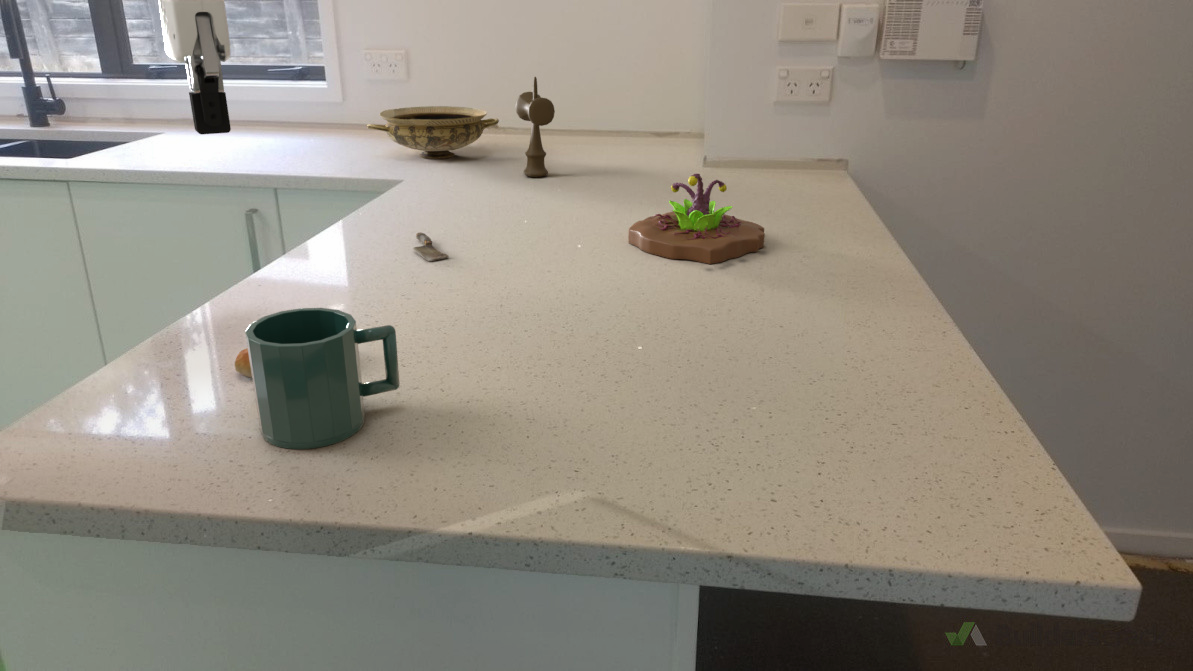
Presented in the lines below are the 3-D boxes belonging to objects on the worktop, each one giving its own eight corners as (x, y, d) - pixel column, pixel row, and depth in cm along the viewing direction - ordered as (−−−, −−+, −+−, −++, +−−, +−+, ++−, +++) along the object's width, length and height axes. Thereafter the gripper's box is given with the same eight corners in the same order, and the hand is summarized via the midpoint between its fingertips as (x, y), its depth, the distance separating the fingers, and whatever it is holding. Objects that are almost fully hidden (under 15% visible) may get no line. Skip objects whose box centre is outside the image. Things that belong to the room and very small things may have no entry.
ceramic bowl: (488, 144, 209) (486, 103, 205) (512, 162, 189) (511, 116, 185) (364, 149, 200) (360, 106, 196) (375, 169, 179) (371, 121, 175)
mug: (271, 458, 69) (255, 353, 66) (253, 414, 77) (238, 317, 73) (416, 425, 75) (409, 327, 72) (387, 387, 82) (379, 296, 79)
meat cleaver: (413, 264, 119) (449, 263, 120) (413, 256, 119) (449, 255, 120) (411, 238, 129) (444, 238, 131) (411, 231, 129) (444, 230, 130)
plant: (606, 245, 129) (608, 172, 125) (672, 220, 144) (675, 154, 139) (722, 270, 118) (728, 192, 114) (780, 241, 133) (787, 170, 129)
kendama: (542, 170, 181) (542, 74, 173) (556, 179, 172) (556, 78, 165) (515, 172, 179) (514, 74, 171) (528, 181, 170) (527, 79, 163)
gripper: (130, -63, 84) (163, 124, 91) (148, -70, 72) (184, 146, 79) (211, -60, 87) (237, 120, 94) (240, -66, 76) (267, 140, 83)
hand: (213, 132), depth 87 cm, fingers closed
